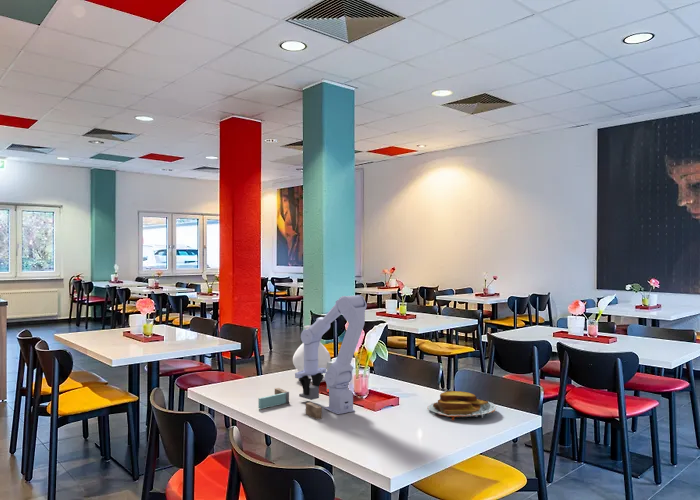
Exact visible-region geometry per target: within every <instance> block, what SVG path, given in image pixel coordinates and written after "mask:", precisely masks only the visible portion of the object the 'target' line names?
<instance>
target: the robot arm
mask: <svg viewBox="0 0 700 500" xmlns="http://www.w3.org/2000/svg"><path fill="white" fill-rule="evenodd" d="M367 306H368V304H367V302H366V300H365V298H364V296H363V295H361V294H356V295H355V294H354V295H347V296H346V295H342V296H340V297H339V298H338V299H337V300H336V301H335V304H334V305H333V306H332V307H331V309H329V311H328V312H327V313H326V315H325V316H320V317H317V318H316V319H315V320H316V321H315V322H313V324H310V325H311V326H310V328H309V329H305V328H303V330H302V331H301V333H300V340H301V342H302V343H304V369H303V371H300V372H295V373H294V378H295V379H299V380H298V381H299V382H300V384H301V387H302V392H303V391H304V395H309V386H310V385H311V383H312V385H314V386H318V387H319V388H320V386H321V384H322V379H323V377H325V380H324V381H325V383H326V386H327V385H328V387H329V393H328V406H325V407H324V409H325V410H327V411H329V412H332V413H334V414H336V415H341V414H348V413H352V412H355V411H356V410H355V408H354V394H353V391H352V390H351V389H350V390H349V388H348V385H349V382H350V383H351V381H352V379H353V370H354V367H353V365H352V360H353V359H354V355H355V353H356V349H357V346H358V344H359V340H360V338H361V335H362V332H363V330H364V326H365V324H366V323H365V322H366V318H365V317H366V309H367ZM341 315H342V317H343V318H344V319H345V321H347V322H348V324H347V325H348V326H347V328H346V331H345V333H344V337H343V339H342V341H341V342H342V343H341V345H340V348H339V351H338V354H337V357H336V360H334V361H335V362H334V363H333V364H332V365H331V366H330V368H329V370H328V371H327V369H326V368H318V347H319V342H321V340H322V337H323V335H324V334H325V333H327V332H328V331H329V330H330V329H331V323H333V322H334V321H335V320H336V319H337V318H339V317H340V316H341ZM322 373H323V374H322ZM308 376H311V377H312V382H310V381H311V378H309V377H308Z"/></svg>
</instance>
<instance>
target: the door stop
mask: <svg viewBox="0 0 700 500" xmlns="http://www.w3.org/2000/svg"><path fill="white" fill-rule="evenodd" d="M298 397H299V398H303V399H307V400H309V401H312V400H316V399H320V386H319V387H318V386H314V385H313V384H310V386H309V395H304V391H303V390H302V393H299V395H298Z"/></svg>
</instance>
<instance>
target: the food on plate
mask: <svg viewBox="0 0 700 500" xmlns="http://www.w3.org/2000/svg"><path fill="white" fill-rule="evenodd" d="M497 407H498V406H496V404H495V403H493V402H490V401H487V400H483V399H478V398H477V396H476V395H475V393H471V392H468V391H460V390H458V391H457V390H450V391H443V392H441V393H440V395H439V399H438V400H437V401H436V402H432V403H431V404H430V405H428V406H427V410H428V411H431V412H433V413H436V414H438V415H440V416H445V417H449V418H450V417H451V421H455V418H468V417H476V418H478V417H479V416H481V418H482V419H483V418H484V416H486V414H487V415H488V414H490V413H491V414H493V412H496V409H497ZM432 417H434V415H432Z"/></svg>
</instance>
